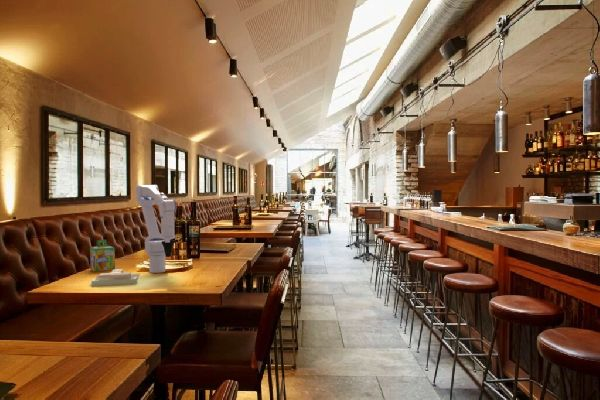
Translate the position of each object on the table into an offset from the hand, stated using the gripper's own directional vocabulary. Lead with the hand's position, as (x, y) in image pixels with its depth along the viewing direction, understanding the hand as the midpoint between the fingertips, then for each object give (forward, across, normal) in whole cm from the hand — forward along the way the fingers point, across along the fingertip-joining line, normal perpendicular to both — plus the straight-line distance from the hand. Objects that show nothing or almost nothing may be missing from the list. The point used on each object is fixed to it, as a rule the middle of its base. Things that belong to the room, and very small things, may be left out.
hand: (168, 256), depth 211 cm
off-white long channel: (+9, +12, -21) cm, 26 cm away
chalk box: (+9, -25, -32) cm, 42 cm away
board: (+9, +4, -22) cm, 24 cm away
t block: (+8, +8, -21) cm, 24 cm away
